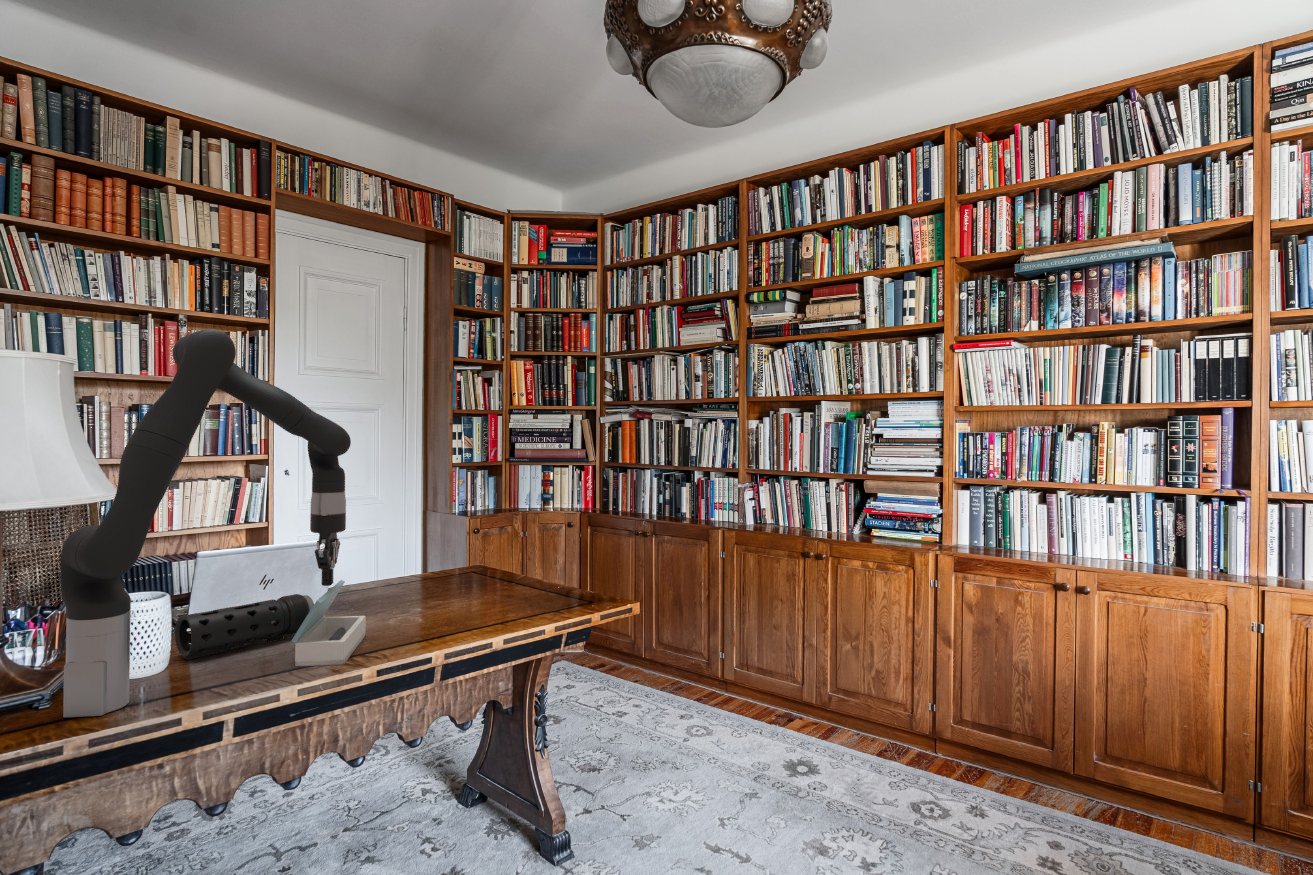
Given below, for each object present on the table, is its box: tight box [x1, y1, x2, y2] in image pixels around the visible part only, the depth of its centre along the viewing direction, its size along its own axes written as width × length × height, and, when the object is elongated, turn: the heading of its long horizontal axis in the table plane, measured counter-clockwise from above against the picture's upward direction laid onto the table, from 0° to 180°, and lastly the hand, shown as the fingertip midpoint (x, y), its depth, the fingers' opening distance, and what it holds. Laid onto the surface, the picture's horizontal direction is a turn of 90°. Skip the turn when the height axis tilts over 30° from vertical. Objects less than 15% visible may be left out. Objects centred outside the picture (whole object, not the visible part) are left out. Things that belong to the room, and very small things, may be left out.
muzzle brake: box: [174, 593, 315, 661], centre depth 166 cm, size 10×28×10 cm, turn 145°
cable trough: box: [294, 615, 367, 667], centre depth 164 cm, size 22×10×5 cm, turn 11°
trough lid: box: [291, 579, 346, 644], centre depth 164 cm, size 22×10×1 cm
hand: (327, 584), depth 164 cm, fingers closed
